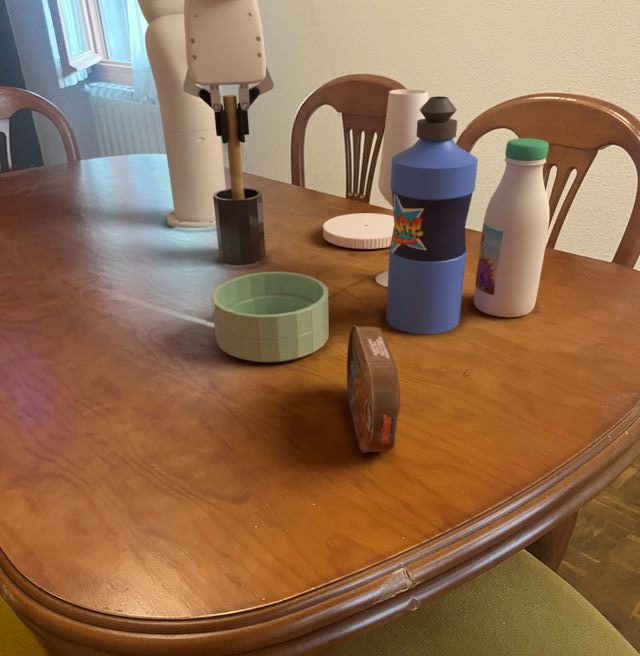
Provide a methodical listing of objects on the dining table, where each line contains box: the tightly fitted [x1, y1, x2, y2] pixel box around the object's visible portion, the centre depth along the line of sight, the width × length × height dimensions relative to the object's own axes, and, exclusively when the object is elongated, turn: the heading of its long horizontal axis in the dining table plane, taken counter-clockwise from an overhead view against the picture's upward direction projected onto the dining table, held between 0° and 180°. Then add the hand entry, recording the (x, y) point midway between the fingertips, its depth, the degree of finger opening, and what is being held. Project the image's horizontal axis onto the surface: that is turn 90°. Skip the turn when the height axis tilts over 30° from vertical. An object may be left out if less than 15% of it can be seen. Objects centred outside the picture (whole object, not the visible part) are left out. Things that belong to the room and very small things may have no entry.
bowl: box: [210, 271, 330, 364], centre depth 76 cm, size 13×13×6 cm
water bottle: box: [386, 95, 479, 335], centre depth 75 cm, size 9×9×25 cm
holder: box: [213, 187, 267, 266], centre depth 98 cm, size 7×7×10 cm
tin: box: [346, 325, 401, 454], centre depth 60 cm, size 15×3×8 cm, turn 5°
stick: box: [222, 94, 245, 200], centre depth 94 cm, size 2×2×20 cm
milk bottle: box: [473, 137, 551, 318], centre depth 79 cm, size 8×8×20 cm
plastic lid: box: [322, 212, 394, 250], centre depth 107 cm, size 14×14×2 cm
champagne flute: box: [375, 88, 429, 288], centre depth 87 cm, size 7×7×24 cm
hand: (233, 140), depth 91 cm, fingers closed on stick, 1 cm apart
